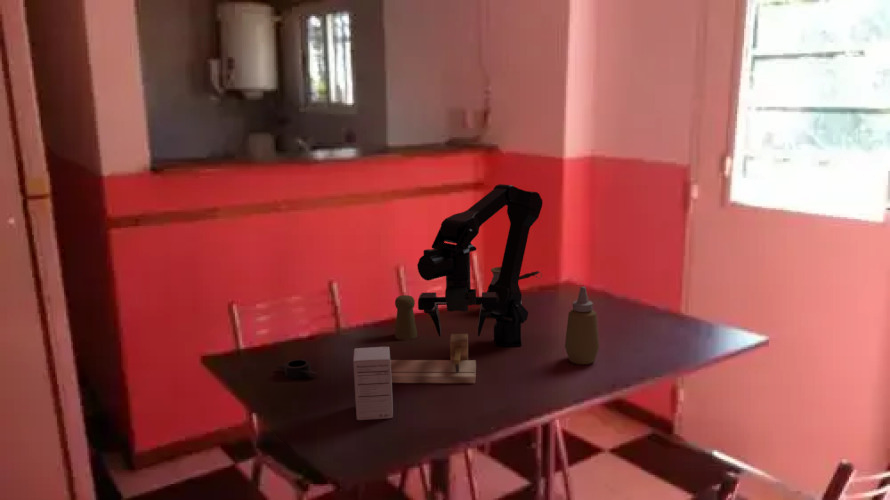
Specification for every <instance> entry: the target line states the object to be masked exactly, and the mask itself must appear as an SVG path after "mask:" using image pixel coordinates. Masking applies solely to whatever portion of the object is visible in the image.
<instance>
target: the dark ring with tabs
mask: <svg viewBox="0 0 890 500" xmlns="http://www.w3.org/2000/svg"><path fill="white" fill-rule="evenodd" d="M277 369H281V370H282V369H283V370H284V374H285V375H284V376H285V378H286V379H288V378H289V379H290V380H302V379H305V378H308V377H309V376H311V375H313V376H314V375H319V373H318V372H315V371H312V370H311V361H310V360H309V359H306V358H296V359H295V358H294V359H291V360H288V361H286V362H285V363H281V364H280V365H278V367H277Z"/></svg>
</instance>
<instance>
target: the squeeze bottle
mask: <svg viewBox="0 0 890 500" xmlns="http://www.w3.org/2000/svg"><path fill="white" fill-rule="evenodd" d="M579 288H580V289H579V293H578V296H577V299H576V300H574V301H573V302H572V309H571V310H569V312H568V315H567V325H566V332H565V334H566V335H565V342H564V348H565V352H566V355H567V357H568V360H569V362H571V363H573V364H577V365H590V364H593V363H594V362H595V360H596V357H597V355H598V352H599V349H600V340H599V338H600V337H599V328H598V327H599V326H598V317H597V312H596V311H595V310H594V309H593V305H594V303H593V301H591V300H589V298H588V294H587V288H586V286H580V287H579Z"/></svg>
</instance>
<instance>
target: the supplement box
mask: <svg viewBox="0 0 890 500" xmlns="http://www.w3.org/2000/svg"><path fill="white" fill-rule="evenodd" d="M390 349H391V348H390V346H376V347H375V346H373V347H359V348H356V347H355V348H354V349H353V358H352V361H353V364H352V365H353V378H354V395H355V397H354V399H355V410H356V411H355V413H356V420H358V421H365V420H369V421H370V420H383V419H393V417H394V407H393V406H394V403H393V400H394V399H393V383H392V378H391V361H390V360H391V351H390Z"/></svg>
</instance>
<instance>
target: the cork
mask: <svg viewBox="0 0 890 500" xmlns="http://www.w3.org/2000/svg"><path fill="white" fill-rule="evenodd" d="M415 304H416V303H415V298H414V297H413V296H411V295H409V294H408V295H407V294H405V295H400V296H397V297H396V298H395V301H394V305H395V308H396V320H395V330H394V331H395V332H394V338H395V339H396V340H400V341H408V340H409V341H410V340H414V339H416V338H417V337H418V330H417V325H416V320H415V312H414V307H415Z"/></svg>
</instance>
